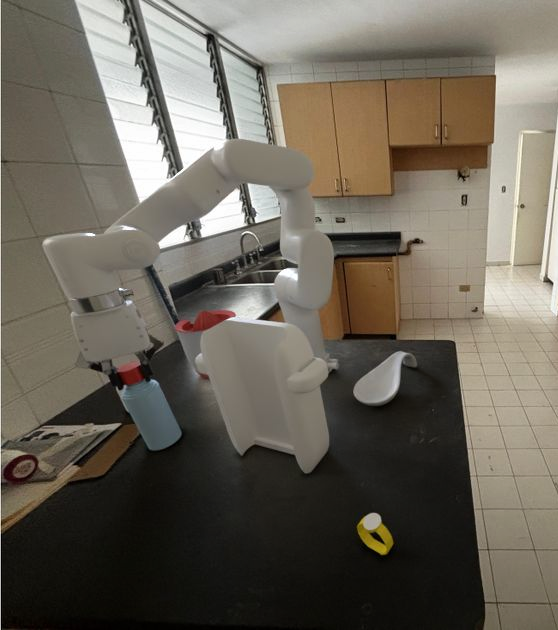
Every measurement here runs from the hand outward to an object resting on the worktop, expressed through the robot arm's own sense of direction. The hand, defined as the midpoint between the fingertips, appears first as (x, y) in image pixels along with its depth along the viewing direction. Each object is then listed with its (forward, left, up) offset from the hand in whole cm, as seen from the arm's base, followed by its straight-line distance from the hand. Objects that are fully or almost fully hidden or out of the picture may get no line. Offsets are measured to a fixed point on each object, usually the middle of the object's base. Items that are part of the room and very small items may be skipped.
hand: (135, 382), depth 70 cm
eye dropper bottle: (+17, -9, -16) cm, 25 cm away
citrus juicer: (+10, -30, -16) cm, 36 cm away
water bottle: (0, -1, -16) cm, 16 cm away
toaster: (-30, -3, -16) cm, 34 cm away
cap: (0, 0, 0) cm, 1 cm away
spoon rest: (-46, -28, -16) cm, 56 cm away
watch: (-56, +14, -16) cm, 60 cm away
